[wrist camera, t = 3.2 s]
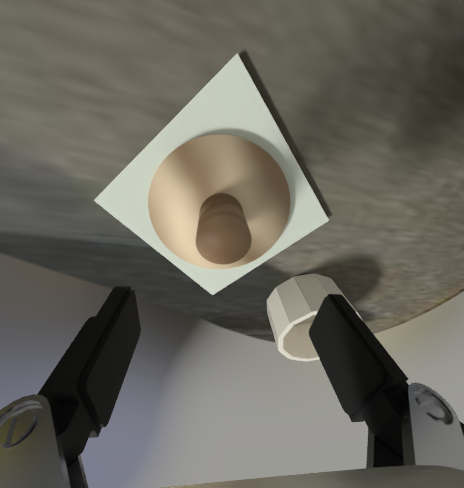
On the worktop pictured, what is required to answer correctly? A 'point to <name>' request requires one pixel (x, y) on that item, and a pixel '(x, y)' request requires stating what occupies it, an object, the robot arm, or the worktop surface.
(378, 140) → the worktop surface
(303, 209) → the mat
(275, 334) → the bowl
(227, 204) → the lid
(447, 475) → the robot arm
